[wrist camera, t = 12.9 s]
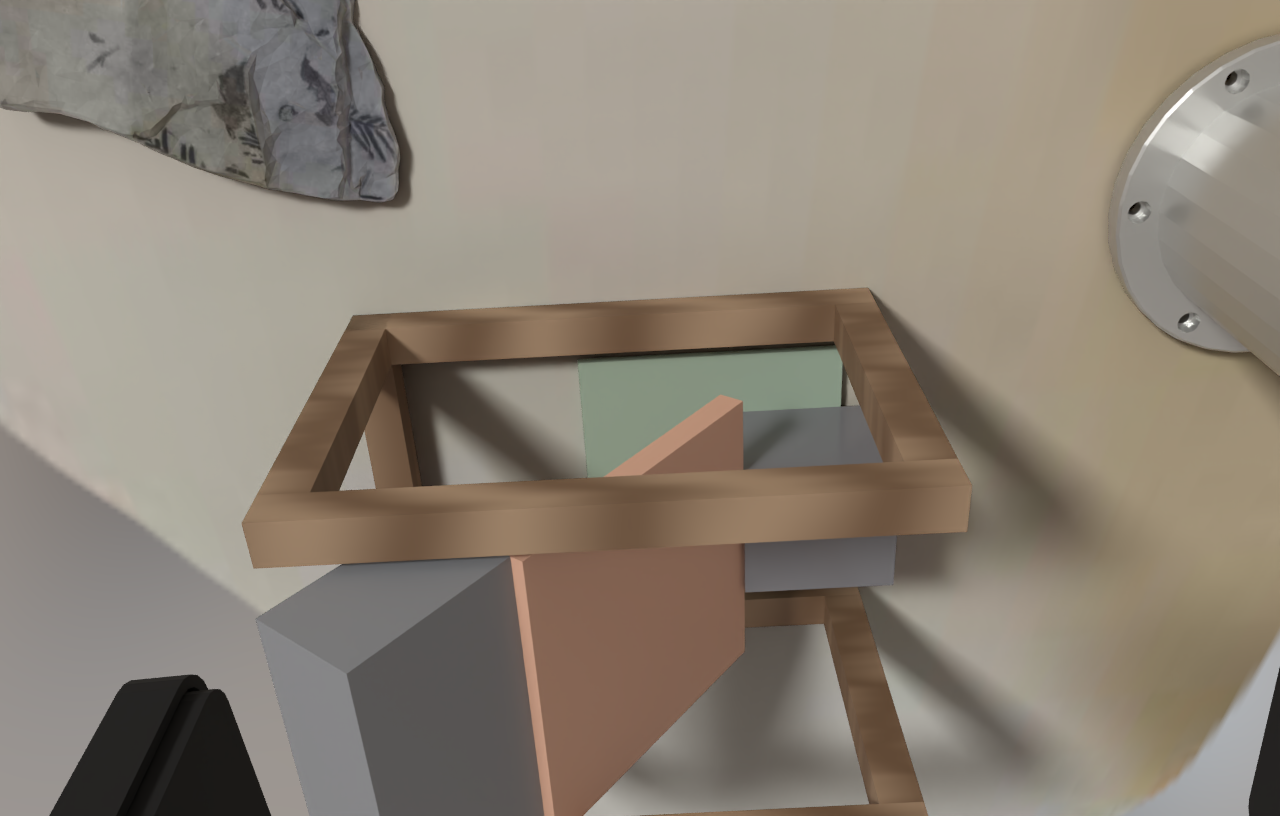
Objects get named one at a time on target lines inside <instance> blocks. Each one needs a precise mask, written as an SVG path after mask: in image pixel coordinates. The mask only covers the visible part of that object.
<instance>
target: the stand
mask: <svg viewBox="0 0 1280 816" xmlns="http://www.w3.org/2000/svg"><path fill="white" fill-rule="evenodd" d="M828 341H834V343H835V345H836V348H837V350H838V353H839V355H840V358H841V360H842V363H843V365H844V368H845V370H846V373H847V375H848V377H849V380H850V382H851V385H852V387H853V390H854V392H855V395H856V397H857V400H858V402H859V404H860V407H861V409H862V412H863V414H864V417H865V419H866V422H867V424H868V427H869V429H870V432H871V434H872V436H873V439H874V441H875V444H876V446H877V449H878V451H879V454H880V456H881V459H882V461H883V462H882V463H863V464H844V465H825V466H806V467H787V468H767V469H748V470H729V471H710V472H691V473H672V474H652V475H633V476H614V477H595V478H576V479H557V480H538V481H518V482H499V483H480V484H461V485H442V486H423V487H422V484H421V478H420V472H419V466H418V461H417V455H416V449H415V443H414V437H413V431H412V426H411V420H410V414H409V408H408V402H407V397H406V391H405V385H404V379H403V373H402V368H401V364H417V363H435V362H454V361H473V360H491V359H510V358H529V357H548V356H566V355H585V354H604V353H622V352H641V351H660V350H679V349H697V348H716V347H735V346H753V345H772V344H791V343H809V342H828ZM364 430H365V435H366V440H367V446H368V451H369V456H370V461H371V466H372V471H373V476H374V481H375V486H376V489H365V490H346V491H339V490H340V487H341V485H342V482H343V480H344V478H345V475H346V473H347V470H348V468H349V466H350V463H351V461H352V459H353V456H354V454H355V451H356V449H357V447H358V444H359V442H360V439H361V437H362V435H363V432H364ZM971 491H972V484H971V483H970V481H969V479H968V477H967V475H966V473H965V471H964V469H963V467H962V465H961V463H960V462H959V460H958V458H957V456H956V454H955V452H954V450H953V448H952V446H951V444H950V443H949V441H948V439H947V437H946V435H945V433H944V431H943V429H942V427H941V425H940V424H939V422H938V420H937V418H936V416H935V414H934V412H933V410H932V408H931V406H930V405H929V403H928V401H927V399H926V397H925V395H924V393H923V391H922V389H921V387H920V386H919V384H918V382H917V380H916V378H915V376H914V374H913V372H912V370H911V368H910V366H909V365H908V363H907V361H906V359H905V357H904V355H903V353H902V351H901V349H900V347H899V346H898V344H897V342H896V340H895V338H894V336H893V334H892V332H891V330H890V328H889V327H888V325H887V323H886V321H885V319H884V317H883V315H882V313H881V311H880V309H879V308H878V306H877V304H876V302H875V300H874V298H873V296H872V294H871V292H870V290H869V289H868V288H855V289H837V290H818V291H800V292H781V293H763V294H744V295H726V296H707V297H688V298H670V299H651V300H633V301H614V302H596V303H577V304H559V305H540V306H522V307H503V308H485V309H466V310H448V311H429V312H411V313H392V314H373V315H355V316H353V317H352V319H351V321H350V322H349V324H348V326H347V328H346V330H345V332H344V334H343V335H342V337H341V339H340V341H339V343H338V345H337V347H336V348H335V350H334V352H333V354H332V356H331V358H330V360H329V362H328V363H327V365H326V367H325V369H324V371H323V373H322V375H321V376H320V378H319V380H318V382H317V384H316V386H315V388H314V389H313V391H312V393H311V395H310V397H309V399H308V401H307V402H306V404H305V406H304V408H303V410H302V412H301V414H300V416H299V417H298V419H297V421H296V423H295V425H294V427H293V429H292V430H291V432H290V434H289V436H288V438H287V440H286V442H285V443H284V445H283V447H282V449H281V451H280V453H279V455H278V457H277V458H276V460H275V462H274V464H273V466H272V468H271V470H270V471H269V473H268V475H267V477H266V479H265V481H264V483H263V484H262V486H261V488H260V490H259V492H258V494H257V496H256V497H255V499H254V501H253V503H252V505H251V507H250V509H249V511H248V512H247V514H246V516H245V518H244V520H243V522H242V527H243V531H244V534H245V538H246V542H247V546H248V549H249V553H250V557H251V560H252V564H253V568H272V567H292V566H311V565H331V564H350V563H370V562H389V561H408V560H428V559H447V558H467V557H486V556H505V555H525V554H544V553H564V552H583V551H603V550H622V549H641V548H661V547H680V546H700V545H719V544H738V543H758V542H777V541H797V540H816V539H836V538H855V537H874V536H894V535H913V534H933V533H952V532H967V528H968V519H969V509H970V500H971ZM744 594H745V628H748V627H768V626H788V625H807V624H824V626H825V630H826V634H827V638H828V642H829V646H830V650H831V654H832V658H833V662H834V666H835V670H836V674H837V678H838V682H839V686H840V689H841V693H842V697H843V701H844V705H845V709H846V713H847V717H848V721H849V725H850V729H851V733H852V737H853V741H854V745H855V749H856V753H857V757H858V761H859V765H860V769H861V773H862V777H863V781H864V785H865V789H866V793H867V797H868V801H869V804H868V805H847V806H827V807H806V808H786V809H765V810H745V811H724V812H704V813H683V814H663V815H642V816H928V814H927V810H926V807H925V804H924V801H923V797H922V794H921V791H920V788H919V784H918V781H917V778H916V775H915V771H914V768H913V765H912V762H911V758H910V755H909V752H908V749H907V745H906V742H905V739H904V736H903V732H902V729H901V726H900V723H899V719H898V716H897V713H896V710H895V706H894V703H893V700H892V697H891V693H890V690H889V687H888V684H887V680H886V677H885V674H884V671H883V667H882V664H881V661H880V658H879V654H878V651H877V648H876V645H875V641H874V638H873V635H872V632H871V628H870V625H869V622H868V619H867V615H866V612H865V609H864V606H863V602H862V599H861V596H860V593H859V589H858V587H843V588H823V589H804V590H784V591H765V592H745V587H744Z"/></svg>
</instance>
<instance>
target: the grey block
mask: <svg viewBox="0 0 1280 816" xmlns="http://www.w3.org/2000/svg"><path fill="white" fill-rule="evenodd" d="M882 462H883V461H882V459H881V456H880V454H879V451H878V449H877V446H876V444H875V441H874V439H873V436H872V434H871V432H870V429H869V427H868V424H867V422H866V419H865V417H864V414H863V412H862V409H861V407H860V406H841V407H822V408H803V409H784V410H766V411H747V412H743V470H748V469H767V468H787V467H806V466H825V465H844V464H863V463H882ZM896 541H897V535H894V536H874V537H855V538H836V539H816V540H797V541H777V542H758V543H744V587H745V592H765V591H784V590H804V589H823V588H843V587H862V586H882V585H893V583H894V569H895V555H896Z"/></svg>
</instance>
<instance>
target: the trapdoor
mask: <svg viewBox="0 0 1280 816" xmlns="http://www.w3.org/2000/svg"><path fill="white" fill-rule="evenodd" d="M729 470H743V401H741V400H738V399H734V398H731V397H727V396H724V395H721V394H720V395H719V396H718V397H716V398H715V399H713V400H712V401H710V402H709V403H708V404H706V405H705V406H703V407H702V408H701V409H699V410H698V411H696V412H695V413H693V414H692V415H691V416H689V417H688V418H686V419H685V420H684V421H682V422H681V423H679V424H678V425H676V426H675V427H674V428H672V429H671V430H669V431H668V432H666V433H665V434H664V435H662V436H661V437H659V438H658V439H657V440H655V441H654V442H652V443H651V444H649V445H648V446H647V447H645V448H644V449H642V450H641V451H640V452H638V453H637V454H635V455H634V456H632V457H631V458H630V459H628V460H627V461H625V462H624V463H622V464H621V465H620V466H618V467H617V468H615V469H614V470H613V471H611V472H610V473H608V474H607V475H605V476H604V477H614V476H633V475H652V474H672V473H691V472H710V471H729ZM256 623H257V626H258V630H259V634H260V637H261V641H262V645H263V648H264V652H265V656H266V659H267V663H268V666H269V670H270V674H271V677H272V681H273V685H274V688H275V692H276V696H277V699H278V702H279V706H280V710H281V714H282V717H283V721H284V725H285V728H286V732H287V736H288V739H289V743H290V746H291V750H292V754H293V757H294V761H295V764H296V768H297V772H298V775H299V779H300V783H301V786H302V790H303V794H304V797H305V801H306V805H307V808H308V812H309V815H310V816H583V815H584V814H585V813H586V812H587V811H588V810H589V809H590V808H591V807H592V806H593V805H594V804H595V803H596V802H597V801H598V800H599V799H600V798H601V797H602V796H603V795H604V794H605V793H606V792H607V791H608V790H609V789H610V788H611V787H612V786H613V785H614V784H615V783H616V782H617V781H618V780H619V779H620V778H621V777H622V776H623V775H624V774H625V773H626V772H627V771H628V770H629V769H630V768H631V767H632V766H633V764H634V763H635V762H636V761H637V760H638V759H639V758H640V757H641V756H642V755H643V754H644V753H645V752H646V751H647V750H648V749H649V748H650V747H651V746H652V745H653V744H654V743H655V742H656V741H657V740H658V739H659V738H660V737H661V736H662V735H663V734H664V733H665V732H666V731H667V730H668V729H669V728H670V727H671V726H672V725H673V724H674V723H675V722H676V721H677V720H678V719H679V718H680V717H681V716H682V715H683V714H684V713H685V712H686V711H687V710H688V709H689V708H690V707H691V706H692V705H693V704H694V702H695V701H696V700H697V699H698V698H699V697H700V696H701V695H702V694H703V693H704V692H705V691H706V690H707V689H708V688H709V687H710V686H711V685H712V684H713V683H714V682H715V681H716V680H717V679H718V678H719V677H720V676H721V675H722V674H723V673H724V672H725V671H726V670H727V669H728V668H729V667H730V666H731V665H732V664H733V663H734V662H735V661H736V660H737V659H738V658H739V657H740V656H741V655H742V654H743V653H744V652H745V594H744V543H738V544H719V545H700V546H680V547H661V548H641V549H622V550H603V551H583V552H564V553H544V554H525V555H505V556H486V557H467V558H447V559H428V560H408V561H389V562H370V563H350V564H342V565H340V566H338V567H337V568H335V569H334V570H332V571H330V572H329V573H327V574H326V575H324V576H322V577H321V578H319V579H318V580H316V581H315V582H313V583H311V584H310V585H308V586H307V587H305V588H303V589H302V590H300V591H299V592H297V593H295V594H294V595H292V596H291V597H289V598H288V599H286V600H284V601H283V602H281V603H280V604H278V605H276V606H275V607H273V608H272V609H270V610H268V611H267V612H265V613H264V614H262V615H260V616H259V617H258V618H256Z"/></svg>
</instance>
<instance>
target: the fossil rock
mask: <svg viewBox="0 0 1280 816" xmlns="http://www.w3.org/2000/svg"><path fill="white" fill-rule="evenodd" d="M354 4H355V0H0V108H3V109H6V110H14V111H22V112H46V113H57V114H62V115H65V116H69V117H73V118H76V119H80V120H83V121H87V122H91V123H92V124H94V125H96V126H97V127H99V128H101V129H104V130H108V131H111V132H114V133H116V134H118V135H120V136H123V137H125V138H128V139H130V140H133V141H136V142H138V143H140V144H142V145H144V146H146V147H148V148H150V149H152V150H154V151H157V152H159V153H161V154H163V155H166V156H168V157H171V158H173V159H176V160H178V161H180V162H183V163H185V164H187V165H189V166H192V167H194V168H197V169H200V170H204V171H207V172H210V173H213V174H216V175H219V176H222V177H225V178H229V179H233V180H237V181H242V182H246V183H250V184H253V185H257V186H260V187H263V188H267V189H271V190H282V191H284V192H292V193H297V194H302V195H306V196H312V197H318V198H324V199H330V200H339V201H349V200H365V201H372V202H384V201H389V200H393V199H394V197H395V195H396V193H397V191H398V187H399V178H398V167H399V163H400V151H399V145H398V142H397V139H396V136H395V133H394V130H393V128H392V125H391V123H390V120H389V117H388V113H387V109H386V104H385V101H384V100H385V94H384V85H383V83H382V81H381V79H380V77H379V75H378V73H377V71H376V68H375V66H374V63H373V61H372V59H371V57H370V55H369V53H368V51H367V48H366V46H365V44H364V41H363V40H362V39H361V36H360V33H359V31H358V30H357V29H356V28H355V26H354V24H353V13H354Z"/></svg>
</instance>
